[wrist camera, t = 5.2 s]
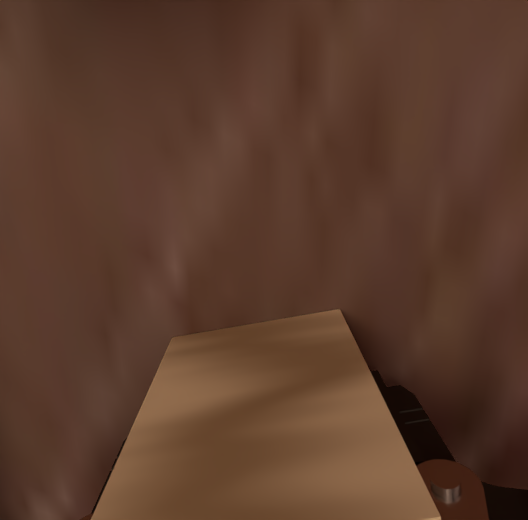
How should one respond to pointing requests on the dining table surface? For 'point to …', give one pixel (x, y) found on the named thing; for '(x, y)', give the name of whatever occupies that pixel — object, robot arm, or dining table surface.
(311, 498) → the birch block
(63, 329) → the dining table surface
